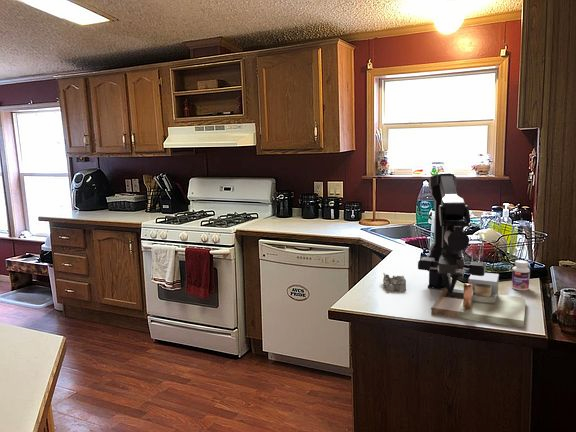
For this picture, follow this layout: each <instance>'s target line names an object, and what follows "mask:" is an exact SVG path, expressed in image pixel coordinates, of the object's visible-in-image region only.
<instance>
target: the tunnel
mask: <svg viewBox="0 0 576 432" xmlns="http://www.w3.org/2000/svg"><path fill="white" fill-rule="evenodd" d="M499 277H500V274H499V273H491V272H490V273H489V272H485V274H484V276H476V275H471V274H470V276H469V277H468V283H470V284H472V289H475V285H476V283H477V284H486V285H492V290H491V296H492V294H493V291H497V296H496V297H498V294H499V282H500V281H499Z"/></svg>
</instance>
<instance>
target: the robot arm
mask: <svg viewBox="0 0 576 432" xmlns="http://www.w3.org/2000/svg"><path fill="white" fill-rule="evenodd" d="M428 190H429V191H430V192H429V193H430V195H431V197H432V199H433V200H434V231H433V233H434V234H433V236H434V237H433V243H432V245H430V248H429V249H428V251H429V252H428V254H427V255H426V256H422V257H421V258H420V259H419V260H418V262H417V269H418V270H421V271H427V272H428V284H427V288H429V289H436V290H443V288H447V290H448V293H449V294H452V292H453V289H455V286H456V284H457V281H458V280H459V277H463V276H464V275H465V273H466V271H467V272H469V273H468V274H470V275H476V276H484V274H485V273H487V272H486V271H487V270H486V269H487V264H486V263H485V262H483V261H470V264H468V263H465V258H464V256H463V251H464V250H465V249H466V248H467V247H468V246H469V243H470V237H469V235H468V234H467V233H466V232H465V231H464V229H465V228H464V227H468V228H469V227H470V223H471V214H470V210H469V208H468V205H467V204H466V203H465V200H464V198H463V197H460V196H459V195H458V192H457V176H456V175H455V173H454V172H453V173H452V172H449V171H447V172H445V171H444V172H443V171H442V172H438V173H436V174H435V175H432V176H430V177H429V179H428Z"/></svg>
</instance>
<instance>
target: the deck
mask: <svg viewBox="0 0 576 432" xmlns="http://www.w3.org/2000/svg"><path fill="white" fill-rule="evenodd" d="M463 293H464V289H458V288H457V289H455V288H454V289H453V292H452V294H449V293H448V290H447V288H443V289H441V292H440V293H439V295H438V296H437V298H436V300H435V301H434V303H433V305H432V306H431V313H430V314H431V315H437V316H441V317H442V316H444V317H451V318H457V319H463V320H469V321H470V320H471V321H477V322H484V323H490V324H497V325H504V326H511V327H517V328H522V329H523V328H524V326H525V325H524V324H525V314H526V313H525V312H526V301H527V299H526V297H525V296H524V297H523V296H516V295H515V296H514V295H506V294H500V293H498V297H496V300H495V303H487V302H480V301H472V308H464V307H463ZM474 295H475V294H474ZM491 297H492V296H491Z"/></svg>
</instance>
